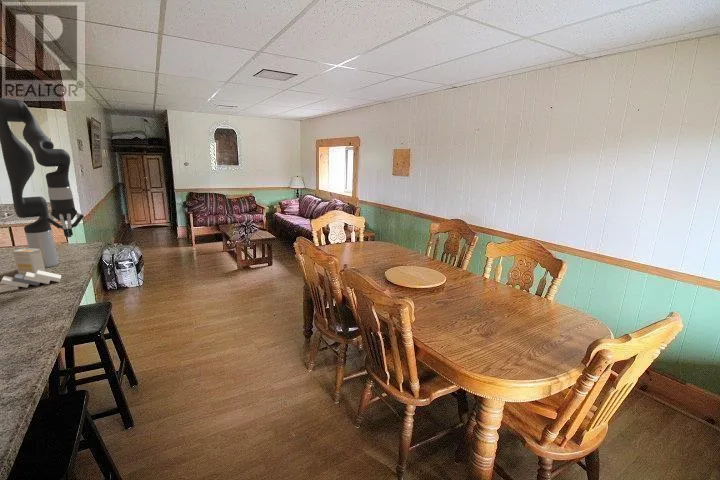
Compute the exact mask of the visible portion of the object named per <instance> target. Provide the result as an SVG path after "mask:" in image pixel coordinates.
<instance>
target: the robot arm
mask: <svg viewBox="0 0 720 480" xmlns="http://www.w3.org/2000/svg"><path fill="white" fill-rule="evenodd" d="M28 106H29V105H28V104H26V103H25V102H24V101H23V100H20V99H14V98H7V97H4V98H3V97H0V146H1V147H0V148H1V152H2V157H3V162H4V166H5V169H6V173H7V177H8V180H9V184H10V189H11V191H10V192H11V194H12V203H13V209H14V212H15V214H16V216H17V217H18V218H20V219H27V218H36V217H37V218H38V219H36V220H35V221H33V222H31V223H29V224H26V225H25V226H24V227H23V230H24V233H25V237H26V242H27V246H28V247H27V248H30V249H40V251H41V255H42V259H43V263H44V267H45V269H46V268H50V267H51V268H52V267H54V266H57V265H59V264H60V263H59V262H60V261H59V257H58V253H57V249H56V243H55V240H54V235H53V230H52V226H54V227H56V228H57V229H62V231H63V235H64V237H66V238H72V236H74V233H73V228H76V227H77V226H78V225H79V223H81V222H82V220H83V219H84V217H85V216H84V214H83V213H79V212H78V211H77V209H76V206H75V202H74V197H73V196H74V195H73V191H72V188H71V184H70V180H69V172H70V165H71V156H70V153H68V152H67V151H66V150H65V149H62V148H55V147H54V143H53V142H52V140H51V139H50V138H49V137H48V136H47V135H46V133H45V132H44V131H43V130H42V129H41V127H40V125H39V123H38V122H37V120H36V118H35V116H34V114H33V112H32V111H31V110H30V108H29V107H28ZM9 122H14V123H24V124H25V125H24V127H23V130H22V137H23V139H24V140H25V142H26V143H27V144H28V145H29V146H30V148H31V149H32V151H33V153H32V152H31V150H29V148H28V147H27V146H26V145H25V144H24V143H22V141H21V140H19V139H18V138H17V136H16V135H15V134H14V133H13V131H12V130H11V128H10V125H9ZM33 154H34V157H35V160H36V163H38V165H40V166H43V167H46V168H50V167H55V168H56V167H57V168H56V170H55V171H51V172H48V173H46V174H45V180H46V184H47V194H48V199H49V203H50V207H51V212H50V215H49V209H48V204H47V201H46V199H45V198H44V197H43V196H29V197H28V196H27V197H24V196H23V192H24V190H25V187H26V184H27V183H28V182H29V180H30V179H31V177H32V176H33V174H34V172H35V169H36V167H35V162H34V157H33ZM75 217H76V219H75ZM55 219H56V220H57V221H59V222H60V223H61V224H59V223H58V222H57V221H55ZM74 219H75V220H74ZM73 220H74V222H73V223H72V221H73ZM66 223H67V224H66Z"/></svg>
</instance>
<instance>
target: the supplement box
mask: <svg viewBox="0 0 720 480" xmlns="http://www.w3.org/2000/svg"><path fill="white" fill-rule="evenodd" d="M12 253H13V254H12V255H13V257H14V260H15V265H16V269H17V272H18V273H17V274H21V275H26V273H27V272H30V273H34V274H36V272H37V270H40V271H44V272H47V271H46V268H45V267H44V263H43V259H42V255H41V251H40V249H30V248H29V247H27V248H25V247H24V248H19V249H15V250H13V251H12Z"/></svg>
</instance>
